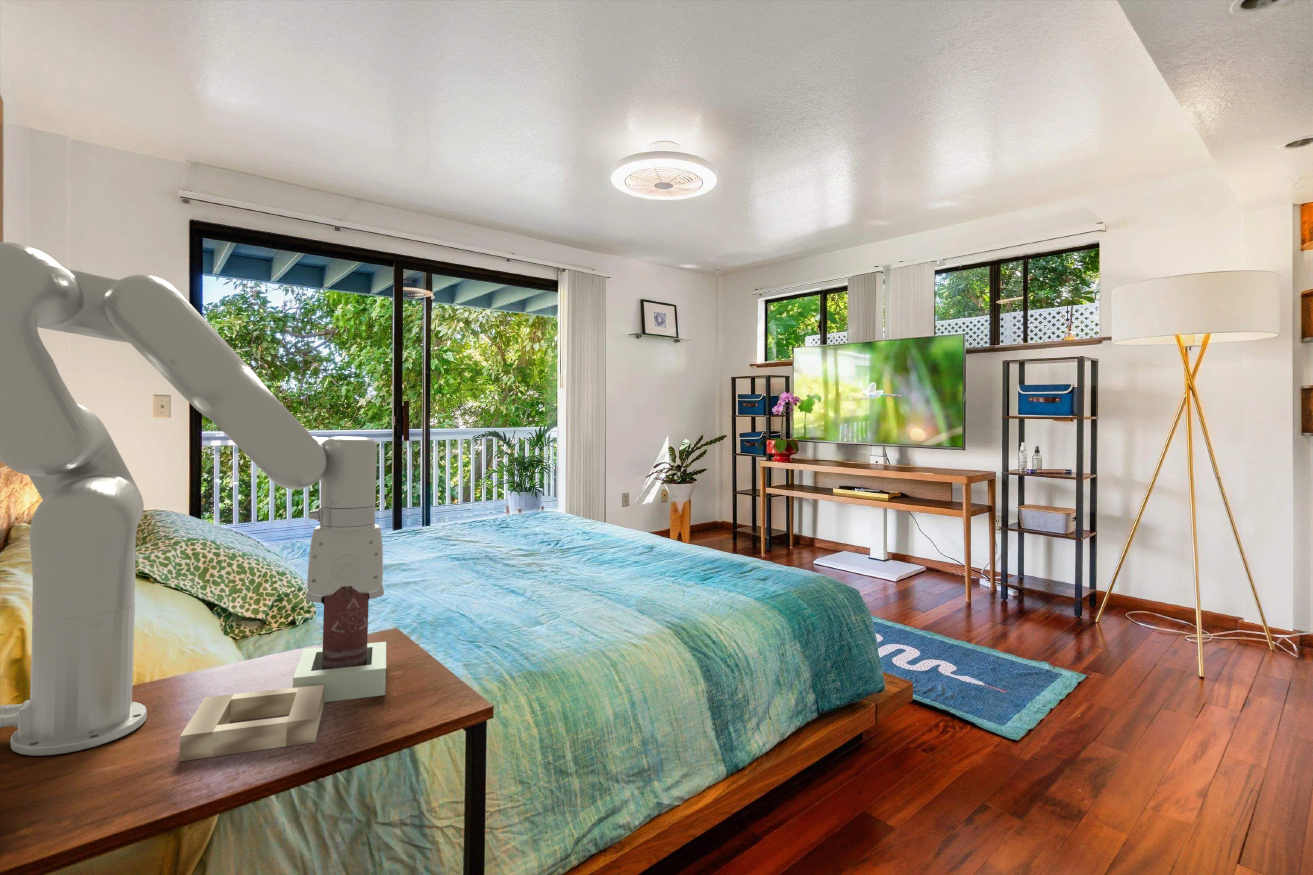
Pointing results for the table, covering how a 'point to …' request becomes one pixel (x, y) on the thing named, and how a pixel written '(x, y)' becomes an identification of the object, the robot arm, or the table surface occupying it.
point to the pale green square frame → (344, 675)
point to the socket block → (253, 722)
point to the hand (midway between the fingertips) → (344, 636)
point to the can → (345, 629)
